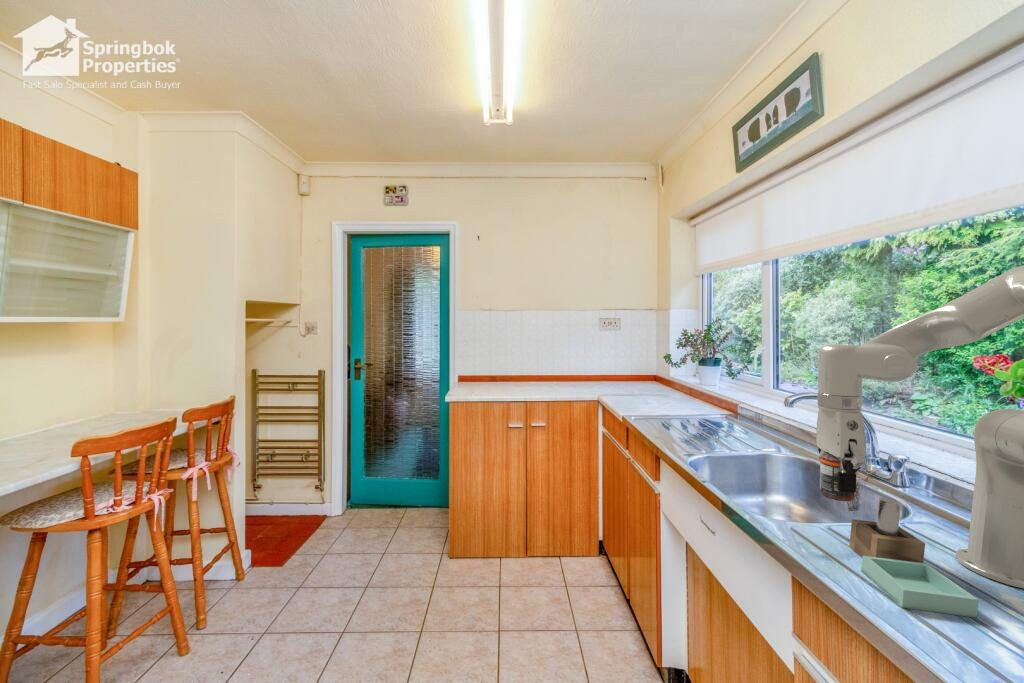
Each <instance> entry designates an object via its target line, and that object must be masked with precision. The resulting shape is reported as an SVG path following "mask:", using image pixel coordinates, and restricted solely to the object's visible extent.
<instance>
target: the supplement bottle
mask: <svg viewBox="0 0 1024 683" xmlns="http://www.w3.org/2000/svg"><path fill="white" fill-rule="evenodd" d="M827 451H828V450H827ZM844 456H845V457H849V458H850V455H844ZM819 461H820V462H819V485H820V486H819V489H820V490H819V491H820V494H821V495H822V496H823V497H824V498H827V499H830V500H832V501H838V502H853V501H854V499H855V493H856V492H840V491H838V489H837V487H838V472H840V467H839V462H838V458H837V457H835V456H833V455H831V454H830V453H828V452H824V453H822V454H821V458H820V460H819ZM844 462H845V466H846V465H847V464H848V463H850V461H844Z"/></svg>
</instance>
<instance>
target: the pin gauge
mask: <svg viewBox="0 0 1024 683" xmlns="http://www.w3.org/2000/svg"><path fill="white" fill-rule="evenodd" d="M901 505H902V504H901V502H900V501H897V500H895V499H891V498H887V497H880V498H879V499H878V507H877V508H878V509H877V519H876V522H877V526H876V532H878V533H879V534H881V535H885V536H894V537H897V534H898V526H900V525H899V524H900V517H901V516H900V514H901V507H902V506H901Z"/></svg>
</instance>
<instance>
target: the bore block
mask: <svg viewBox="0 0 1024 683" xmlns="http://www.w3.org/2000/svg"><path fill="white" fill-rule="evenodd" d="M850 523H851V524H850V525H851V526H850V527H851V528H850V535H849V536H850V538H849V549H850V550H852V551H853V552H854V553H856V554H857V555H858V556H859V557H861V558H862V556H869V557H877V558H886V559H894V560H902V561H911V562H919V563H924V560H925V548H926V543H925V542H923V541H922V540H921V539H919V538H918V537H916V536H914V535H913V534H911V533H910V532H908V531H907V530H906V529H903V527H901V526H900V525H898V534H897V537H894V536H885V535H881V534H879V533H878V532H876V526H877V521H871V520H862V519H853V518H852V519H851V522H850Z"/></svg>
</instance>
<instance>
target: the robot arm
mask: <svg viewBox="0 0 1024 683" xmlns="http://www.w3.org/2000/svg"><path fill="white" fill-rule="evenodd" d="M1022 319H1024V265H1020V266H1017V267H1014V268H1012V269H1010V270H1007V271H1005V272H1003V273H1002V274H1000V275H998V276H996V277H994V278H992V279H990V280H988V281H987V282H985V283H983V284H981V285H980V286H977V287H976V288H973V289H972V290H970V291H968V292H967V293H965V294H962V295H961V296H959V297H957V298H955V299H952V300H951V301H949V302H947V303H946V304H944V305H942V306H939V307H937V308H935V309H932V310H930V311H927V312H926V313H923V314H921V315H919V316H917V317H916V318H912V319H910V320H908V321H906V322H903V323H902V324H899V325H897V326H894V327H893V328H891V329H888V330H887V331H885V332H883V333H881V334H879V335H877V336H875V337H873V338H872V339H870V340H869V341H868V340H867V341H866V342H864V343H862V344H861V345H860V346H858V345H854V344H853V345H851V344H825V345H822V346H820V348H819V350H818V363H817V365H818V369H817V370H818V372H817V373H818V374H817V377H818V378H817V408H818V411H817V419H816V420H817V421H816V434H815V435H816V436H815V437H816V439H815V444H816V446H817V448H818V450H817V451H818V453H819V456H818V460H819V461H820V458H821V454H822V453H824V452H828V453H830V454H831V455H833V456H835V457H837V458H838V462H839V467H840V472H838V487H837V489H838V491H840V492H855V493H856V492H857V475H858V474H859V470H860V469H861V467H862V466H863V464H864V463H865V459H866V455H867V454H866V452H867V451H866V450H867V449H866V448H867V447H866V432H865V420H864V417H863V412H862V403H863V402H862V401H863V400H862V399H863V398H862V397H863V396H862V395H863V392H862V391H863V380H873V381H878V382H879V381H880V382H884V383H885V382H886V383H887V382H888V383H896V382H897V383H898V382H902V381H905V380H907V379H909V378H910V377H912V376H913V375H914V373H915V372H916V371H917V368H918V361H917V357H920V356H921V355H925V354H927V353H931V352H933V351H937V350H942V349H949V348H954V347H960V346H964V345H968V344H971V343H974V342H978V341H980V340H983V339H984V338H986V337H988V336H990V335H992V334H994V333H996V332H999V331H1000V330H1002V329H1004V328H1006V327H1008V326H1010V325H1012V324H1013V323H1016V322H1018V321H1020V320H1022ZM973 430H974V431H973V441H974V450H975V459H976V460H975V462H976V463H975V466H976V467H975V478H974V486H973V493H972V494H973V496H972V504H971V516H970V523H969V531H968V532H969V533H968V542H967V548H962V549H959V550H957V551H956V552H955V559H956V561H957V562H958V563H959V564H961V565H962V566H963V567H965V568H967V569H968V570H970V571H972V572H974V573H976V574H977V575H980V576H983V577H985V578H988V579H991V580H993V581H995V582H998V583H1002V584H1004V585H1005V584H1006V585H1008V586H1012V587H1015V588H1019V589H1024V410H1022V409H1015V408H1000V409H994V410H992V411H989V412H987V413H985V414H984V415H982V416H980V418H979V419H978V420H977V422H976V424H975V425H974V429H973ZM827 450H828V451H827ZM844 455H850V458H849V457H845V456H844ZM844 461H850V463H848V464H847V465H846V466H845V462H844Z"/></svg>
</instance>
